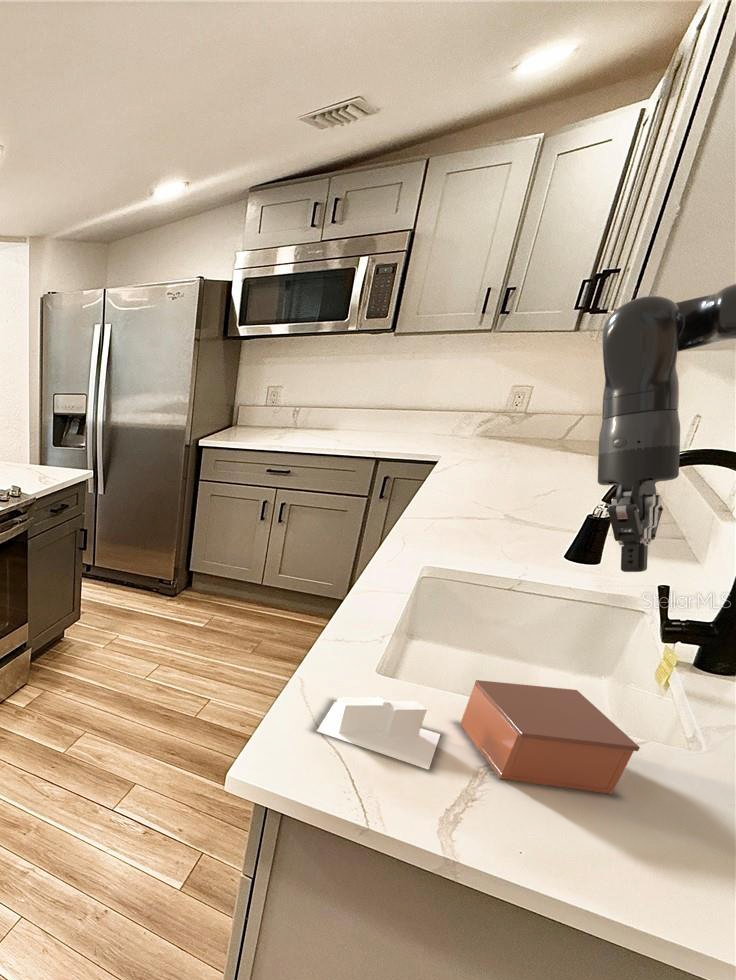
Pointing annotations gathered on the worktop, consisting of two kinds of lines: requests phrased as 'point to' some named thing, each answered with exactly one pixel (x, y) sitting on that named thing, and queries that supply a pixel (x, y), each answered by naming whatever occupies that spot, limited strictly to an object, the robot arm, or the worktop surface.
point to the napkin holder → (383, 727)
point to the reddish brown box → (539, 753)
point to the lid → (554, 715)
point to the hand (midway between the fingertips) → (633, 571)
